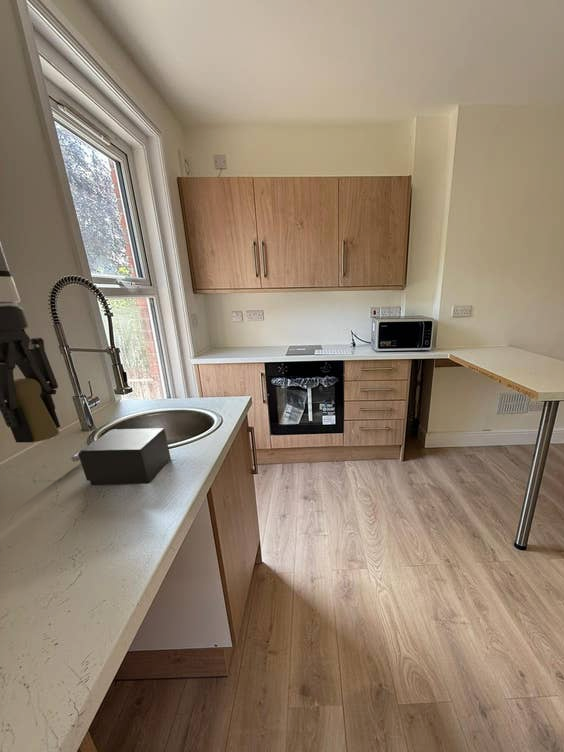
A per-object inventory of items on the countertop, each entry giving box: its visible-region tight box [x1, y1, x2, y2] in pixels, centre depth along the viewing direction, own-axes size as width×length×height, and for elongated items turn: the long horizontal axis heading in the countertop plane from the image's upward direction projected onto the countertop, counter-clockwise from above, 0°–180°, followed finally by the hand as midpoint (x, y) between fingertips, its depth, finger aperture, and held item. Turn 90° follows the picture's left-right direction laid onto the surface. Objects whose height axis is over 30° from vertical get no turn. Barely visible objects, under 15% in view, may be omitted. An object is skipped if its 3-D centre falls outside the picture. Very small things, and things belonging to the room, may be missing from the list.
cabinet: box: [79, 427, 172, 486], centre depth 91 cm, size 15×14×10 cm
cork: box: [14, 377, 60, 444], centre depth 64 cm, size 6×6×11 cm
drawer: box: [70, 451, 90, 482], centre depth 91 cm, size 18×12×8 cm
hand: (39, 434), depth 66 cm, fingers closed on cork, 6 cm apart
